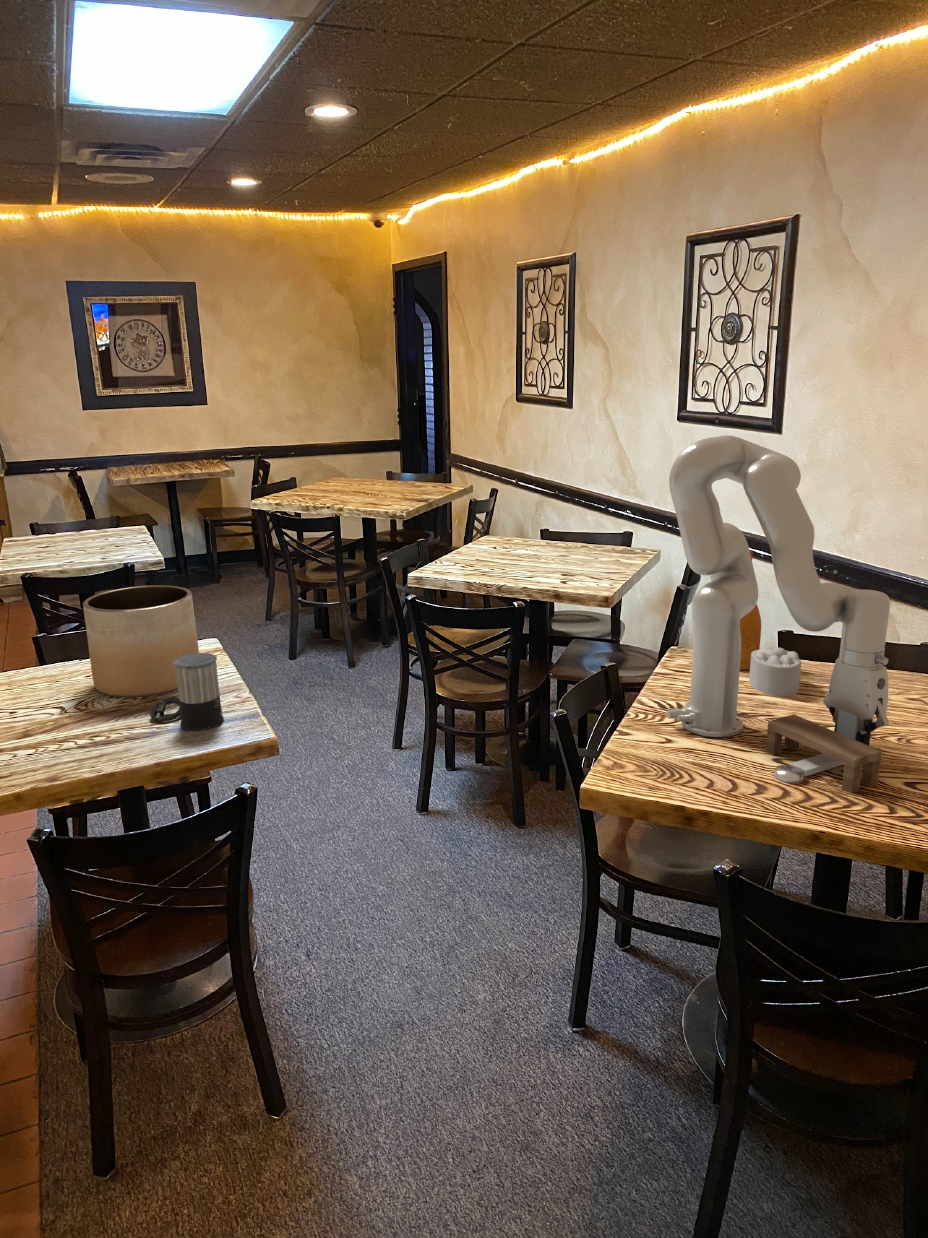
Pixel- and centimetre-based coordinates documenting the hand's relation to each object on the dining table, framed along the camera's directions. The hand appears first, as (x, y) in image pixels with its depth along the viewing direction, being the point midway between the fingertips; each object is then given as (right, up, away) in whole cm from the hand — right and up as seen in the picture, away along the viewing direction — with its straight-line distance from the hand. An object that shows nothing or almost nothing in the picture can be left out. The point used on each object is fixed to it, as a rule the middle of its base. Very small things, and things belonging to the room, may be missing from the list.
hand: (850, 745), depth 166 cm
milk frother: (-136, +2, +25) cm, 138 cm away
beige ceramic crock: (-153, +8, +50) cm, 161 cm away
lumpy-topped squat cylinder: (-1, +8, +39) cm, 39 cm away
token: (-14, -5, -7) cm, 17 cm away
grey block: (-5, -3, -2) cm, 6 cm away
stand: (-7, -4, -3) cm, 9 cm away
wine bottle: (-5, +12, +54) cm, 55 cm away
